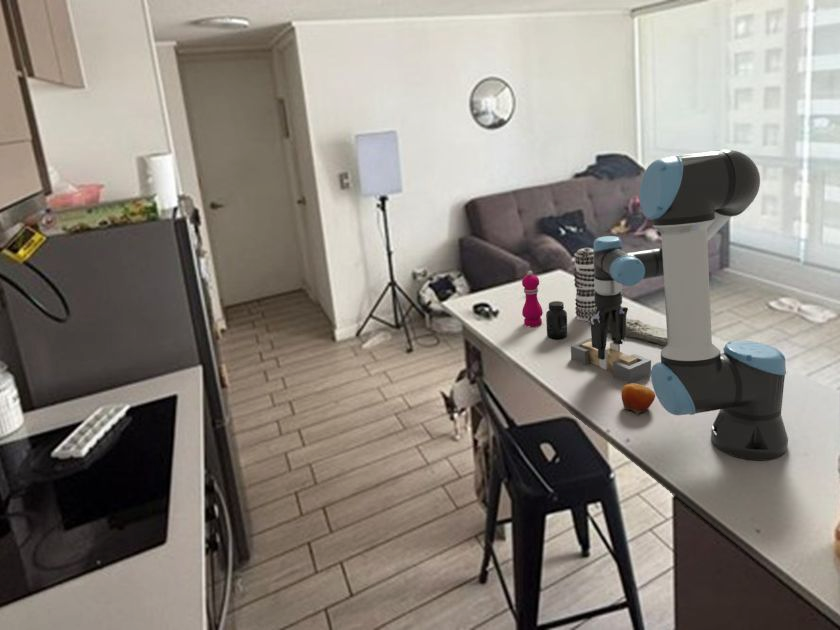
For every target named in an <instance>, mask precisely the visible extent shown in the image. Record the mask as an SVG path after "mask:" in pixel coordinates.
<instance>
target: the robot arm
mask: <svg viewBox="0 0 840 630" xmlns="http://www.w3.org/2000/svg"><path fill="white" fill-rule="evenodd" d="M760 185H761V176H760V172H759V168H758V166H757V165H756V162H755V161H753V159H751V158H750V157H749V156H747V155H746V154H744V153H742V152H741V151H738V150H733V149H717V150H713V151H705V152H696V153H688V154H681V155H680V154H679V155H672V156H668V157H664V158H659V159H656V160H654V161H652V162H651V163H650V164H649V165H648V166H647V167H646V169H645V171H644V173H643V175H642V179H641V182H640V187H639V205H640V207H641V208H642V209H641V211H642V214H643V215H644V216H645V217H646V218H648V219H651V220H652V226H653V228H654V229H656V230H657V231H658V232H659V233H660V234H661V235H660V236H661V247H657V248H650V249H643V250H636V251H629V252H626V251H625V250H623V248H624V247H623V243H622V239H621V238H620V237H619V236H616V235H615V236H614V235H607V236H601V237H600V236H599V237H597V238H596V239H594V241H593V256H594V290H595V291H596V292H595V293H594V298H595V305H596V307H597V310H596V315H595V316H594V317H593V318H592V317H589V321H588V322H589V325H590V335H591V338H592V347H593V348H596V349H598V358H599V365H600V366H599V368H601V369H603V370H606V371H608V349H607V348H606V347H607V341H608V340H607V339H608V333H610V337H611V342H609V348H611V349H613V350H616V351H619V352H621V351H620V350H621V348H620V346H621V345H623V343H624V340H626V336H625V333H626V318H627V314H628V310H629V309H628V307H625V306H622V304H623V292H622V290H623V286H625V287H633V286H635V285H637V284H639V283H640V282H641V281H642V280H647V279H653V278H659V277H663V284H664V286H663V287H664V302H665V304H664V305H665V306H664V307H665V321H666V329H667V340H668V344H667V346H664V348H662V349H661V351H660V362H656V363H654V364H653V365H652V366H651V375H650V380H651V384H652V388H653V391H654V393H655V397H656V398H657V400H658V402H659V403H660V404H661V406H662V407H663V408H664V409H665V411H666V412H668V413H669V414H671V415H674V416H686V415H691V416H694V415H695V414H700V413H706V412H711V411H712V412H713V411H718V410H719V411H718V413H717V415H716V417H715V419H714V422H713V423H712V426H711V430H710V431H711V433H710V439H711V442H712V443H713V445H714V446H715V447H716V448H717V449H719V450H720V451H722V452H724V453H725V454H728V455H730V456H732V457H736V458H739V459H744V460H750V461H769V460H775V459H778V458H780V457H782V456H783V455H784V454H785V453H786V452H787V450H788V447H789V445H788V444H789V435H788V433H787V431H786V426H785V423H784V419H783V416H782V408H783V398H784V389H785V388H784V386H785V378H786V377H785V376H786V375H787V371H786V365H787V364H786V357H785V355H784V354H783V353H782V351H780V350H779V349H778V348H776V347H774V346H771V345H769V344H766V343H762V342H758V341H752V340H732V341H729V342H727V343H726V344H725V345H724V347H723V353H721V350H720V348H718V347H717V346H716V345H715V344H714V343H713V339H712V338H713V337H712V317H711V315H712V313H711V295H710V294H711V292H710V271H709V270H710V269H709V267H710V266H709V250H708V249H709V248H708V246H709V245H708V242H709V241H710V240H711V239H712V238H713V237H714V236H715V235H716V234H717V233H718V232H719V231H720V229H722V227H724V225H726V223H727V222H728V221H730V219H731V218H732V217H737V216H739V215H741V214H742V213H743V212H745V211H746V210H747V209H748V208H749V206H750V205H751V204H752V203H753V202H754V200H755V199H756V197H757V195H758V193H759V191H760V187H761V186H760ZM608 327H610V332H609V331H608ZM620 334H621V335H620Z"/></svg>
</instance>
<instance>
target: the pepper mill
mask: <svg viewBox="0 0 840 630" xmlns="http://www.w3.org/2000/svg"><path fill="white" fill-rule="evenodd" d="M521 285H522V287H524V288H523V293H524V294H525V302H524V305H523V307H522V312H521V315H522V317H523V318H524V320H523V323H524V324H523V325H524V326H525V325H526V327H528V326H530V327H529V328H537V327H540V326H541V325H543V321H542V318H541V317H542V316H543V314H544V312H543V311H544V310H543V308H542V306H541V303H540V302H539V299H538V292H539V287H538V286H539V285H540V279H539V277H538V276H537V275H535V274H534V273H533V270H528V271H527V274H526V275H525V276H523V278H522V281H521ZM536 326H537V327H536Z"/></svg>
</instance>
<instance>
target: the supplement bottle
mask: <svg viewBox="0 0 840 630" xmlns="http://www.w3.org/2000/svg"><path fill="white" fill-rule="evenodd" d="M545 314H546V315H545V317H546V318H545V320H546V323H545V324H546V336H547V338H548V339H549V340H552V341H560V340H562V341H563V340H564V339H566V338H567V337H568V313H567V311H566V310H565V309H564V302H563V301H559V300H555V301H554V300H553V301H550V302H549V303H548V310H547V311H546V313H545Z"/></svg>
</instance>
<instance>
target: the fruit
mask: <svg viewBox="0 0 840 630" xmlns="http://www.w3.org/2000/svg"><path fill="white" fill-rule="evenodd" d="M655 398H656V394H655V391H654V390H652V389H651V388H650V387H648V386H646V385H642V384H641V383H639V384H638V383H635V382H633V383H631V384H628V383H627V384H625V385H623V387H622V390H621V401H622V406H623V407H624V411H626V410H629V411H630V410H631V411H633V412H635V413H636V415H637V417H639V413H641V412H646V411H647V410H648V409H649V408H650V407H651V405H652V404H653V402H654V401H655V400H656V399H655Z"/></svg>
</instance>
